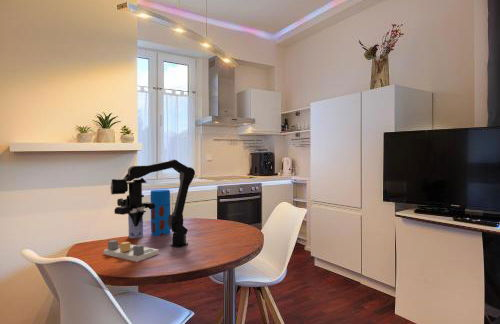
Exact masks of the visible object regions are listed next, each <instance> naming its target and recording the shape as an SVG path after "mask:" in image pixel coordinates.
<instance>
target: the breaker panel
mask: <svg viewBox="0 0 500 324" xmlns="http://www.w3.org/2000/svg"><path fill="white" fill-rule="evenodd" d="M103 254H104V255H106V256H109V257H110V256H111V257H115V258H118V259H124V260H127V261H131V262H136V263H137V262H140V261H144V260H146V259H148V258H151V257H154V256H156V255H159V249H158V248H153V247H147V246H144V245H143V244H137V245H136V244H132V243H130V250H129V251H126V252H122V251H120V244H119V240H116V239H112V240H108V241H107V248H106V249H103Z"/></svg>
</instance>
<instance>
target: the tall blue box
mask: <svg viewBox="0 0 500 324" xmlns="http://www.w3.org/2000/svg"><path fill="white" fill-rule="evenodd" d="M150 202H151V203H154V204H155V209H150V232H151V236H153V237H162V236H168V235H170V234H171V229H170V228H169V227H168V223H167V221H168V216H169V214H170V215H171V191H170V189H153V190H150Z"/></svg>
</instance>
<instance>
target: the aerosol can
mask: <svg viewBox="0 0 500 324" xmlns="http://www.w3.org/2000/svg"><path fill="white" fill-rule="evenodd" d="M133 209H134V208H133ZM127 215H128V214H127ZM143 217H144V215H143V216H142V218H141V220H140V222H139V224H138V226H137V227H135V226H134V224H133V222H132V219H131V217H130V215H128V219H127V221H128V238H129V239H139V238H142V237H144V224H143V223H144V219H143Z"/></svg>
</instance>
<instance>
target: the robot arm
mask: <svg viewBox="0 0 500 324" xmlns="http://www.w3.org/2000/svg"><path fill="white" fill-rule="evenodd" d="M169 169H173V170H174V171H175V172H177V173H179V177H178V178H179V187H178V191H177V196H176V200H175V203H174V204H175V205H174V208H173V212H172V214H171V213H170V214H169V216H168V221H167V223H168V227H169V228H170V231H171V232H172V238H171V241H172V242H171V243H172V244H170V245H169V246H170V247H174V248H175V247H176V248H182V247H185V246H188V245H189V243H188V242H187V234H188V231H189V230H188V228H186V227H185V225H184V214H183V213H184V209H185V204H186V200H187V198H188V197H187V196H188V191H189V186H190V185H191V183H192V182H193V180H194V178H195V175H196V171H195V169H194V168H192V166H191V167H190V166H187V165H185V164H183V163H182V162H179V161H178V160H177V159H170V160H166V161H161V162H158V163H152V164H148V165H131V166H130V167H128V169H127V173H126V175H124V177H123V179H120V178H118V179H116V178H113V179H111V183H110V184H111V185H110V194H111V195H125V194H126V193H127V192H128V194H127V195H126V198H124V199H123V198H117V199H116V200H117V202H116V203H117V207H115V208H114V215H123V216H124V215H130V217H131V219H132V222H133V224H134V226H135V227H137V226H138V224H139V222H140V220H141V218H142V216H143V217H144V215H145V213H146V212H147V211H146V210H144V209H149V210H151V209H155V204H154V203H151V201H150V202H148V201H147V202H146V201H145V202H143V198H145V197H144V196H145V195H144V194H143V184H146V183H147V180H145V179H144V177H145V176H147V175H149V174H151V173H155V172H156V173H157V172H160V171H165V170H169ZM133 208H134V209H133Z"/></svg>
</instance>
